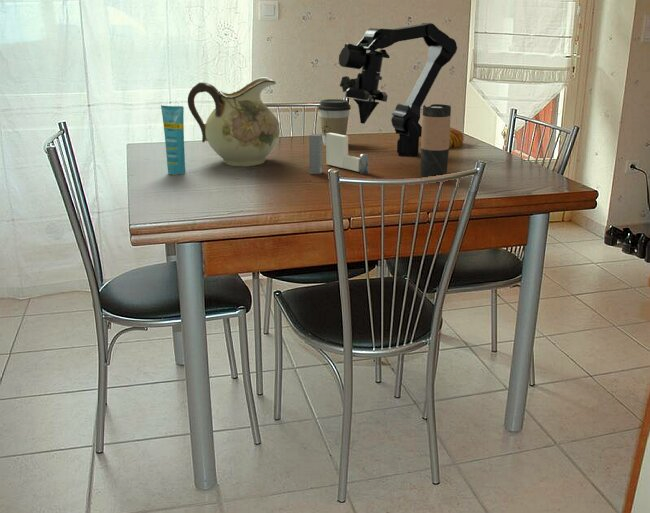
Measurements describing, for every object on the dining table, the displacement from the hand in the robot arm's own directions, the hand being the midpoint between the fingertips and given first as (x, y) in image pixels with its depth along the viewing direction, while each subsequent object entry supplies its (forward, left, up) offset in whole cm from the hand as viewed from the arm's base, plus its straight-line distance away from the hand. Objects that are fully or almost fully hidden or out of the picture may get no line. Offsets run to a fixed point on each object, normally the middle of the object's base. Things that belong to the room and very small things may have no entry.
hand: (362, 123), depth 222 cm
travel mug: (-21, +24, -11) cm, 34 cm away
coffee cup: (+10, -24, -11) cm, 28 cm away
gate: (+5, +13, -11) cm, 18 cm away
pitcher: (+36, +7, -11) cm, 39 cm away
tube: (+52, +23, -11) cm, 59 cm away
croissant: (-27, -27, -12) cm, 39 cm away
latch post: (+13, +20, -11) cm, 26 cm away
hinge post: (-1, +19, -11) cm, 22 cm away
